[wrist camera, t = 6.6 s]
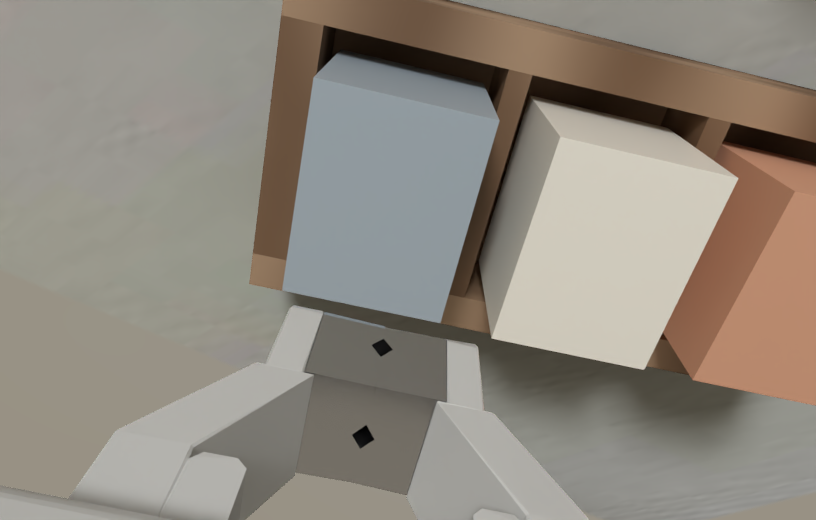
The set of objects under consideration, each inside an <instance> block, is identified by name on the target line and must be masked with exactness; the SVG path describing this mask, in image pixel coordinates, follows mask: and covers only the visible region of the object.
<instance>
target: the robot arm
mask: <svg viewBox="0 0 816 520" xmlns="http://www.w3.org/2000/svg"><path fill="white" fill-rule="evenodd" d="M295 472H296V473H302V474H308V475H313V476H319V477H324V478H330V479H336V480H342V481H347V482H353V483H357V484H361V485H365V486H370V487H374V488H378V489H383V490H387V491H391V492H395V493H400V494H404V495H407V497H406V498H407V500H408V502H409V504H410V506H411V508H412V510H413V512H414V514H415V516H416V518H417V520H589V519H588V518H587V516H586V515H585V514H584V513H583V512H582V511H581V510H580V508H579V507H578V506H577V505H576V504H575V503H574V502H573V501H572V500H571V498H570V497H569V496H568V495H567V494H566V493H565V492H564V491H563V490H562V488H561V487H560V486H559V485H558V484H557V483H556V482H555V481H554V480H553V479H552V477H551V476H550V475H549V474H548V473H547V472H546V471H545V470H544V469H543V467H542V466H541V465H540V464H539V463H538V462H537V461H536V460H535V459H534V457H533V456H532V455H531V454H530V453H529V452H528V451H527V450H526V449H525V447H524V446H523V445H522V444H521V443H520V442H519V441H518V440H517V439H516V437H515V436H514V435H513V434H512V433H511V432H510V431H509V430H508V429H507V428H506V426H505V425H504V424H503V423H502V422H501V421H500V420H499V419H498V418H497V416H496V415H495V414H494V413H492V412H487V411H484V402H483V392H482V382H481V372H480V361H479V351H478V347H477V346H476V345H475V344H471V343H466V342H460V341H455V340H449V339H442V338H437V337H432V336H427V335H422V334H417V333H412V332H406V331H401V330H396V329H391V328H386V327H385V326H382V325H377V324H373V323H369V322H365V321H361V320H357V319H353V318H348V317H344V316H340V315H336V314H332V313H328V312H325V313H323V311H320V310H315V309H310V308H306V307H301V306H296V305H293V306H292V307H291V308H289V311H288V313H287V315H286V318H285V320H284V322H283V324H282V327H281V329H280V331H279V334H278V336H277V338H276V340H275V343H274V345H273V347H272V350H271V352H270V354H269V356H268V359H267V361H266V363H265V364H262V363H257V362H256V363H253V364H251V365H249V366H247V367H245V368H243V369H241V370H239V371H237V372H235V373H233V374H231V375H229V376H227V377H225V378H223V379H221V380H218V381H216V382H214V383H212V384H210V385H208V386H206V387H204V388H202V389H200V390H198V391H196V392H194V393H192V394H190V395H188V396H186V397H184V398H181V399H179V400H177V401H175V402H173V403H171V404H169V405H167V406H165V407H163V408H161V409H159V410H157V411H155V412H153V413H151V414H149V415H147V416H145V417H143V418H140V419H138V420H136V421H134V422H132V423H130V424H128V425H126V426H124V427H122V428H120V429H118V430H116V431H115V432H114V434H113V436H112V437H111V438H110V440H109V441H108V443H107V444H106V445H105V447H104V448H103V450H102V451H101V452H100V454H99V455H98V457H97V458H96V460H95V461H94V463H93V464H92V465H91V467H90V468H89V470H88V471H87V473H86V474H85V475H84V477H83V478H82V480H81V481H80V483H79V484H78V485H77V487H76V488H75V490H74V491H73V493H72V494H71V495H70V497H69V498H68V499H67V498H61V497H56V496H51V495H46V494H41V493H36V492H31V491H25V490H21V489H16V488H11V487H6V486H0V520H245V519H246V518H248V517H249V516H250V515H251V514H252V513H253V512H254V511H255V510H257V509H258V508H259V507H260V506H261V505H262V504H263V503H264V502H266V501H267V500H268V499H269V498H270V497H271V496H272V495H273V494H275V493H276V492H277V491H278V490H279V489H280V488H281V487H282V486H284V485H285V483H287V482H288V481H289V480H290V479H292V478H293V477H294V476H295Z"/></svg>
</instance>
